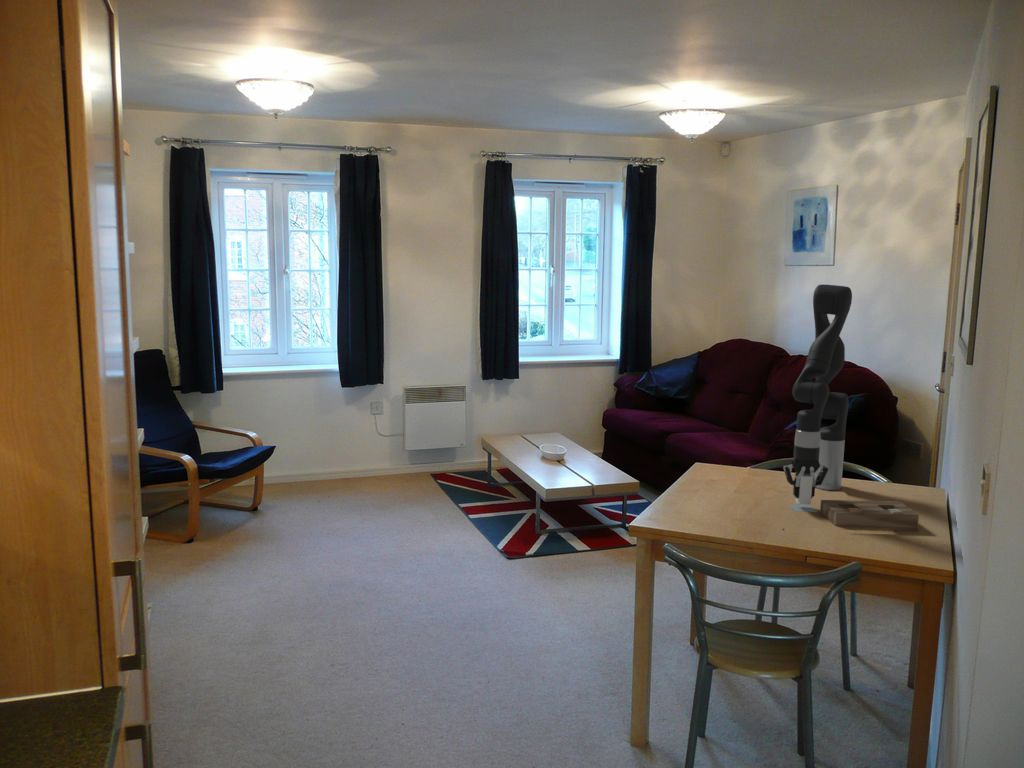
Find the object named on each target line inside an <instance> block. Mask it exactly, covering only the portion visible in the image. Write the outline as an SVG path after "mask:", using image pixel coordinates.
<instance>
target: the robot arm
mask: <svg viewBox="0 0 1024 768" xmlns="http://www.w3.org/2000/svg"><path fill="white" fill-rule="evenodd" d="M812 297H813V298H812V306H813V307H812V309H813V319H814V329H815V332H814V334H815V335H814V336H815V337H814V338H815V339H814V341H813V342H812V343H811V345H810V346H809V347H810V348H809V350H808V353H807V357H806V361H805V364H804V367H803V369H802V371H801V372H800V374H799V376H798V378H797V379H796V381H795V382H794V384H793V387H792V392H791V393H792V397H793V398H794V400H795V401H796V402H798V403H799V402H800V403H806V404H813V408H812V409H802V410H800V411H798V412H797V416H796V429H795V433H794V434H795V435H794V444H793V459H792V462H791V464H788V465H786V464H783V466H782V469H783V472H784V475H785V478H786V482H788V484H789V485H791V486H793V490H792V494H793V496H794V498H795V499H796V498H799V489H800V487H799V485H800V480H801V476H803V474H810V476H813V481H812V495H811V499H813V498H814V497H815V494H816V493H815V491H816V488H817V489H819V490H820V489H821V490H827V491H838V490H840V489H842V480H843V468H844V466H843V465H844V454H845V442H846V440H845V439H846V431H847V430H846V429H847V418H848V411H849V404H850V403H849V401H850V399H849V396H848V394H847V393H845V392H844V393H842V392H833V391H830V386H829V384H830V383H831V381H832V380H833V379H834V378H835V377H836V376H837V375H838V374H839V372H841V371H842V369H843V367H844V365H845V362H846V361H845V359H846V357H845V355H846V349H845V343H844V341H843V339H842V338H841V337H840V336H841V332H842V330H843V328H844V325H845V324H846V321H847V317H848V315H849V312H850V310H851V307H852V301H853V291H852V289H851V287H849V286H846V285H836V284H819V285H817V286H816V287H815V289H814V291H813V295H812ZM828 315H831V316H832V315H833V316H834V318H833V319H832V321H831V322H830V320H829V316H828ZM814 379H815V380H814ZM822 419H827V420H836V422H834V423H833V424H830V425H829V426H824V427H821V425H822ZM793 470H794V471H795V473H794V478H793V477H792V473H791V472H792V471H793Z"/></svg>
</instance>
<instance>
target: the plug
mask: <svg viewBox="0 0 1024 768" xmlns="http://www.w3.org/2000/svg"><path fill="white" fill-rule="evenodd" d="M812 481H813V476H810V474H803V476H801V480H800V485H799V487H800V489H799V498H796V497H795V502H796V503H797V505H811V506H812V498H811V495H812Z"/></svg>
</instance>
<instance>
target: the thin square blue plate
mask: <svg viewBox="0 0 1024 768" xmlns="http://www.w3.org/2000/svg"><path fill="white" fill-rule="evenodd" d="M788 506H789V507H790V508H791V509H792V510H793V511H794V512H803V513H804V512H805V513H807V512H808V513H811V512H812V513H818V512H819V510H818V511H817V509H815V508H814V507H813V506H812V504H811V505H807V504H788Z"/></svg>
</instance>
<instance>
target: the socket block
mask: <svg viewBox="0 0 1024 768" xmlns="http://www.w3.org/2000/svg"><path fill="white" fill-rule="evenodd" d="M819 513H820V514H821V515H822V516H823V517H824V518H826V519H827V520H828V521H829V522H830V523H831V524H832V525H834V526H835V527H869V528H870V527H872V528H876V527H877V528H878V527H879V528H890V529H892V530H893V531H907V532H908V531H910V532H913V531H914V532H916V531H917V532H918V528H919V516H920V513H917V512H916V511H914V510H913V509H911V508H910V507H908V506H907V505H905V504H904V503H903V502H901V501H897V500H895V501H892V500H854V499H853V500H852V499H851V500H850V499H849V500H848V499H847V500H846V499H820V510H819Z"/></svg>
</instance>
